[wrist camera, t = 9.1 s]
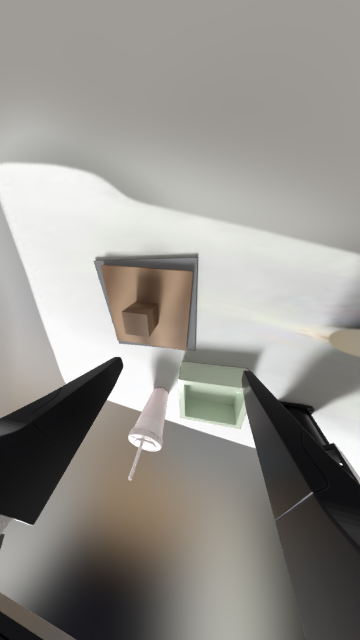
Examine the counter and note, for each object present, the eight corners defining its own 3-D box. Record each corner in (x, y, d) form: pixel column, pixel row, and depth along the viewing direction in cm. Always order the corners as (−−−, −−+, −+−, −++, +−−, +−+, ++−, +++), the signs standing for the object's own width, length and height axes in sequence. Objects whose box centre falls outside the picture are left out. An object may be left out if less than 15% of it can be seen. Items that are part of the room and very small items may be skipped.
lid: (193, 270, 17) (188, 277, 13) (186, 347, 23) (182, 368, 19) (104, 264, 19) (75, 268, 15) (119, 337, 25) (102, 354, 21)
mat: (197, 257, 17) (197, 257, 16) (195, 348, 24) (194, 350, 23) (95, 260, 19) (93, 260, 19) (120, 342, 26) (119, 343, 26)
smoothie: (143, 385, 32) (104, 469, 20) (166, 381, 30) (138, 473, 17) (156, 401, 34) (128, 485, 22) (177, 399, 32) (160, 491, 20)
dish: (246, 367, 24) (254, 389, 20) (236, 405, 30) (240, 429, 26) (182, 360, 26) (178, 379, 22) (183, 397, 32) (180, 417, 28)
